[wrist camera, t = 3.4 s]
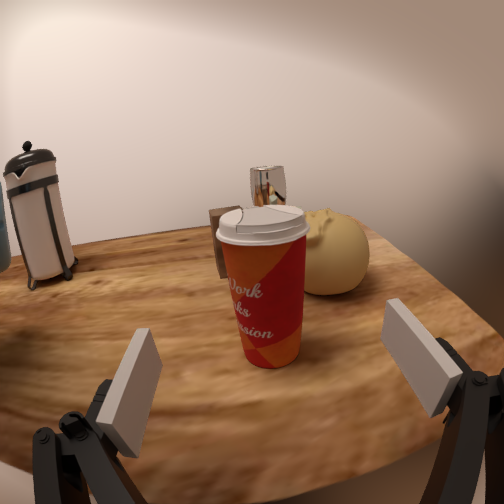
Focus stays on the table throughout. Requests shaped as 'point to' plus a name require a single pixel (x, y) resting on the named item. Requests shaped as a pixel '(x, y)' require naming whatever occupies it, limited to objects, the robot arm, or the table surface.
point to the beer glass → (268, 185)
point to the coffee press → (39, 214)
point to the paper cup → (266, 279)
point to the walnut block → (214, 219)
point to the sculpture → (334, 253)
